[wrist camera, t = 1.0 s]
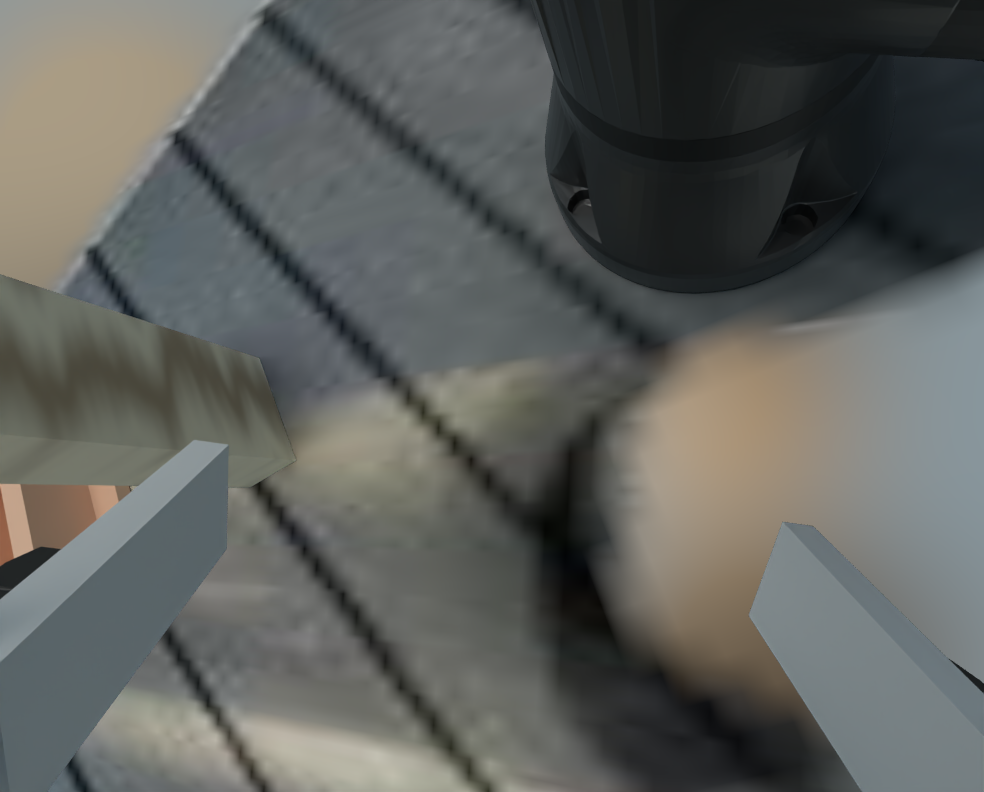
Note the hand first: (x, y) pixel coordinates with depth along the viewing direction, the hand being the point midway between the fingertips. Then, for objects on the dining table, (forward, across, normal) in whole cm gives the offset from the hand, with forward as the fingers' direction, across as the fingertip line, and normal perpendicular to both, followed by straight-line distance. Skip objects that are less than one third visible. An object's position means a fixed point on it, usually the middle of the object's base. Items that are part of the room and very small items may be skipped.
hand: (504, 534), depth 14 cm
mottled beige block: (+21, -13, -7) cm, 26 cm away
